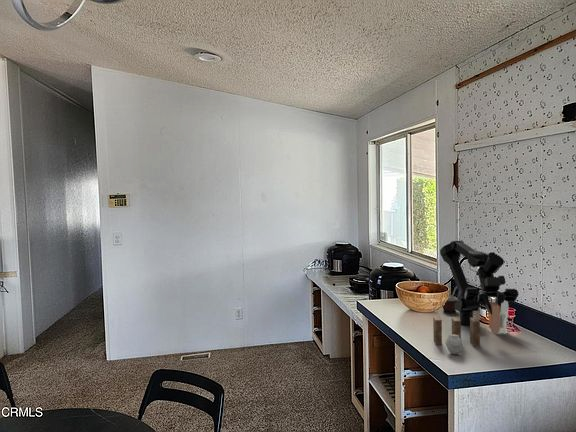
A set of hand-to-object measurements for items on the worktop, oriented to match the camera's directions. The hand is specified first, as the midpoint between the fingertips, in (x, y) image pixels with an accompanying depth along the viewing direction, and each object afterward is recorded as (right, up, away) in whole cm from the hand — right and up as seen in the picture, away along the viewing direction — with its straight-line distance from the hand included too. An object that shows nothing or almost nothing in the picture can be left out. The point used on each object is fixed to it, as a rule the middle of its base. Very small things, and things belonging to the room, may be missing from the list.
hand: (495, 313), depth 152 cm
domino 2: (-13, -13, +5) cm, 19 cm away
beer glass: (+10, -12, +16) cm, 23 cm away
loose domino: (0, -7, +2) cm, 7 cm away
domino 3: (-6, -13, +3) cm, 15 cm away
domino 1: (-20, -13, +6) cm, 25 cm away
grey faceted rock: (-18, -14, -5) cm, 23 cm away
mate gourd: (+2, -11, +46) cm, 47 cm away
